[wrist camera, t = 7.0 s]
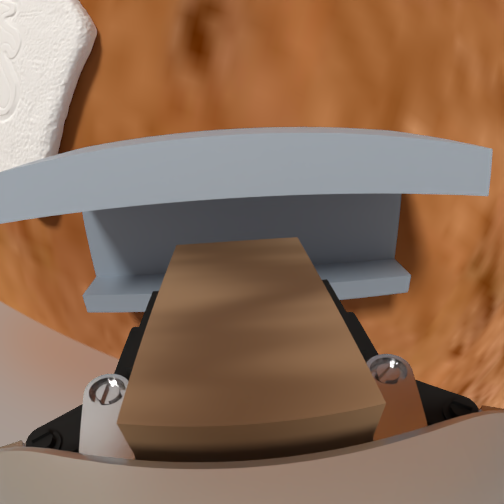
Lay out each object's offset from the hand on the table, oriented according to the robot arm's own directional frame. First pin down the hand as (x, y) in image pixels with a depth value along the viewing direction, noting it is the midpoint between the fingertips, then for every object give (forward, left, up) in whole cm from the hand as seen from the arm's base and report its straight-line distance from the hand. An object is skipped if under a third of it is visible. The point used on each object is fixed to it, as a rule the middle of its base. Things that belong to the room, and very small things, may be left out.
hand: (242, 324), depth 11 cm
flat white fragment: (+18, -17, -11) cm, 27 cm away
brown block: (0, 0, -2) cm, 2 cm away
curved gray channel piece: (0, -2, -11) cm, 11 cm away
